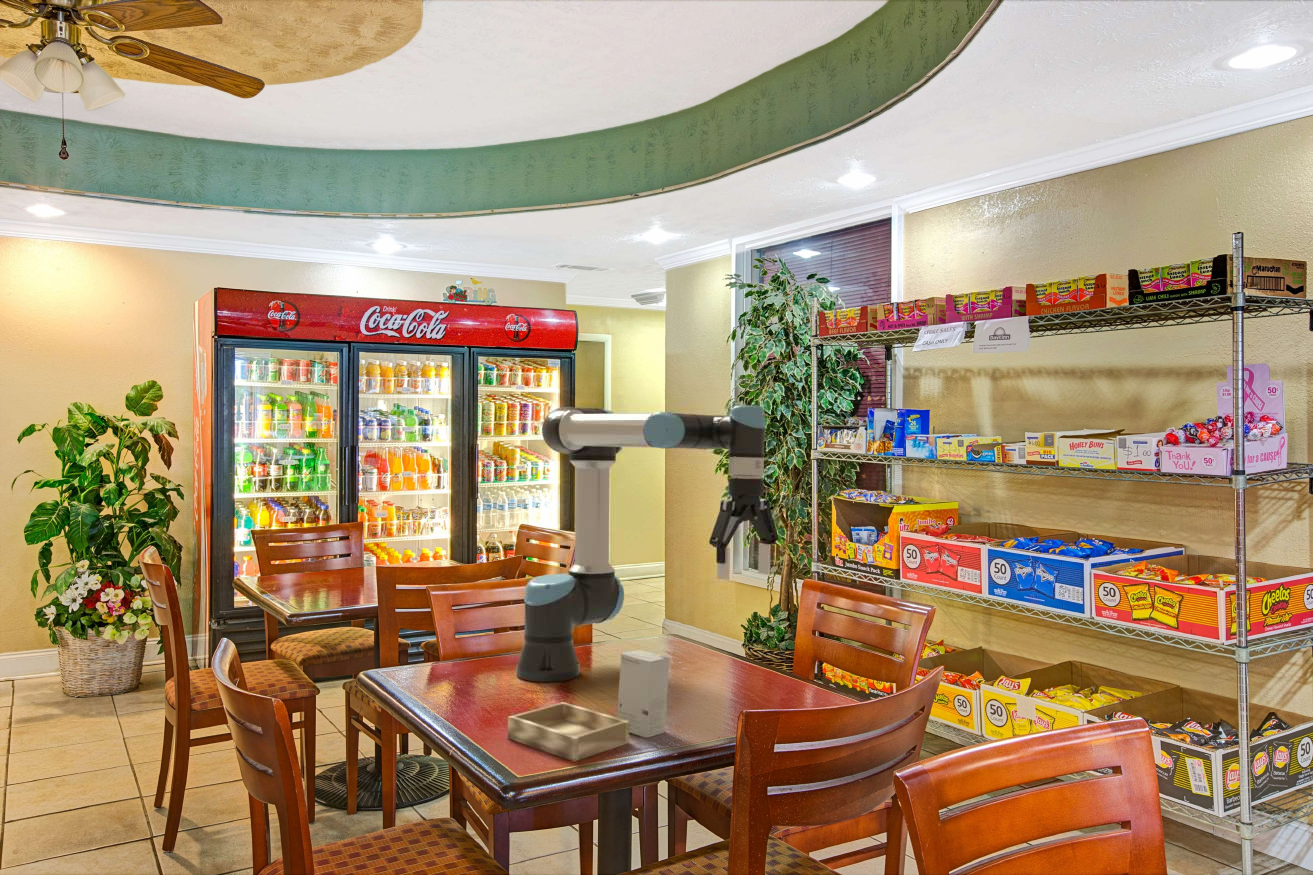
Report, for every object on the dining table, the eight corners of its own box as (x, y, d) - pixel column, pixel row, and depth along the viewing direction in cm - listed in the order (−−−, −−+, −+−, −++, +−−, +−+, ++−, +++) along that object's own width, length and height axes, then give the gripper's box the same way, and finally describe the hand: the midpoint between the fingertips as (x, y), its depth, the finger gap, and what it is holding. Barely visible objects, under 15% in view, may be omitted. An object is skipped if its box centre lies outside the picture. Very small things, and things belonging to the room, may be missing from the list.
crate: (507, 737, 167) (508, 716, 167) (562, 721, 178) (563, 701, 178) (574, 761, 155) (574, 738, 155) (628, 742, 166) (629, 721, 166)
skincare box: (615, 729, 173) (617, 653, 174) (636, 722, 178) (637, 648, 178) (648, 739, 168) (650, 660, 168) (668, 732, 173) (670, 654, 173)
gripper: (720, 478, 180) (718, 583, 180) (795, 477, 198) (793, 573, 198) (693, 477, 186) (691, 579, 186) (768, 476, 203) (766, 569, 203)
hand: (744, 576), depth 192 cm, fingers open, 13 cm apart
